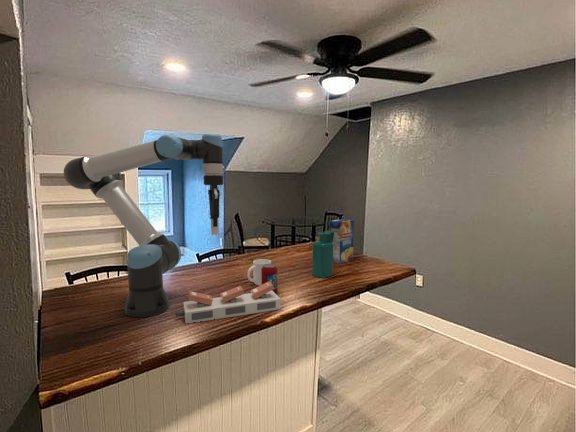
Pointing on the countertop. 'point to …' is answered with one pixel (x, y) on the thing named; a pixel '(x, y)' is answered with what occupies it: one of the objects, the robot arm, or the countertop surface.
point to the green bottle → (323, 255)
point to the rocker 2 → (232, 293)
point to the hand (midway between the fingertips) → (215, 234)
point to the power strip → (229, 307)
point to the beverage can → (269, 275)
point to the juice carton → (342, 240)
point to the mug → (257, 270)
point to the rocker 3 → (262, 289)
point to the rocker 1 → (200, 297)
